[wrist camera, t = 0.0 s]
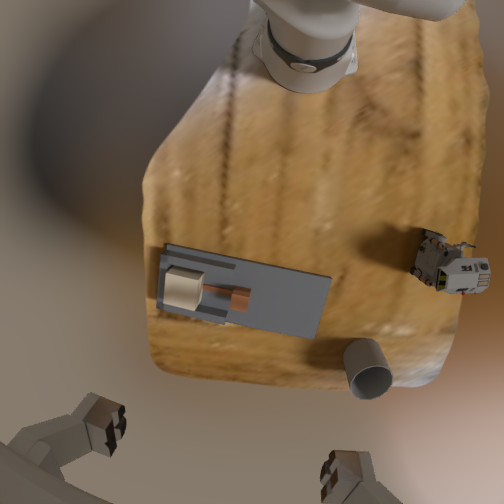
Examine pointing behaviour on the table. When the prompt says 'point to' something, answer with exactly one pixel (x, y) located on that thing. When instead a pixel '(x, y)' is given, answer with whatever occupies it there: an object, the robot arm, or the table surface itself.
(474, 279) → the figurine
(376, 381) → the cup
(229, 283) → the grey slider tray
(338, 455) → the robot arm
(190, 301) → the block
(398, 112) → the table surface
